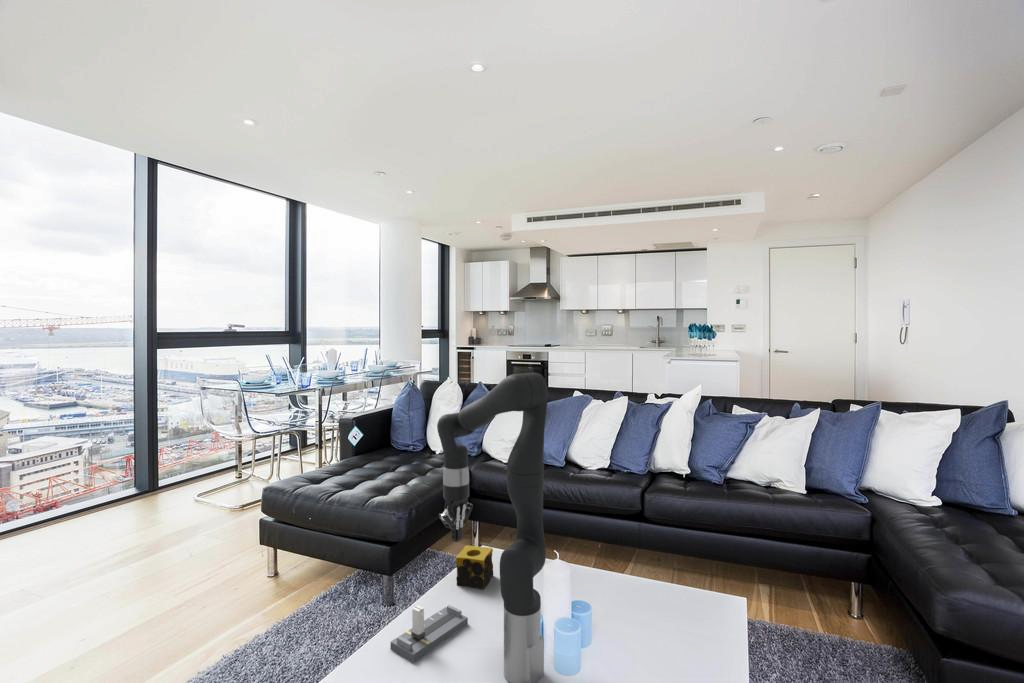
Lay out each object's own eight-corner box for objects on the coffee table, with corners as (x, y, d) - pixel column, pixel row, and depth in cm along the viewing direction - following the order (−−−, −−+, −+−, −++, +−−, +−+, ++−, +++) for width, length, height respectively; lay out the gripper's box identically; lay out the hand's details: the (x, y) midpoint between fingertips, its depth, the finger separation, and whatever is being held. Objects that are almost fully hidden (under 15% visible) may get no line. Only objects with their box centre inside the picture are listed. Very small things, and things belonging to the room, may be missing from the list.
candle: (493, 575, 176) (493, 547, 176) (484, 590, 166) (484, 560, 166) (466, 572, 179) (466, 544, 179) (455, 586, 169) (455, 556, 169)
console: (467, 624, 147) (467, 612, 147) (413, 662, 130) (413, 648, 130) (445, 613, 153) (445, 601, 153) (390, 648, 136) (390, 635, 136)
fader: (425, 635, 138) (425, 608, 138) (418, 639, 136) (418, 612, 136) (417, 631, 140) (417, 604, 139) (411, 635, 138) (411, 608, 137)
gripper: (450, 489, 139) (450, 551, 140) (480, 478, 150) (481, 535, 150) (430, 485, 144) (431, 545, 144) (461, 474, 154) (462, 530, 155)
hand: (456, 540), depth 147 cm, fingers closed
